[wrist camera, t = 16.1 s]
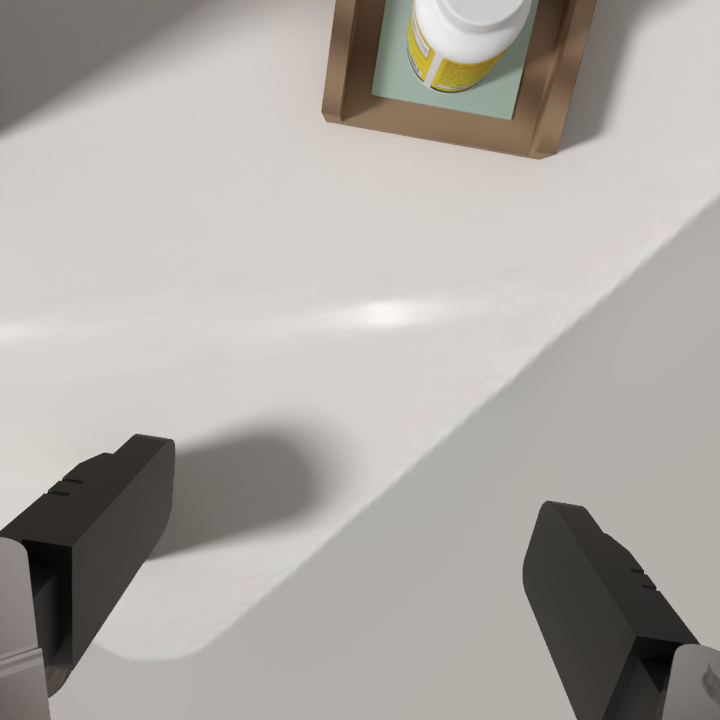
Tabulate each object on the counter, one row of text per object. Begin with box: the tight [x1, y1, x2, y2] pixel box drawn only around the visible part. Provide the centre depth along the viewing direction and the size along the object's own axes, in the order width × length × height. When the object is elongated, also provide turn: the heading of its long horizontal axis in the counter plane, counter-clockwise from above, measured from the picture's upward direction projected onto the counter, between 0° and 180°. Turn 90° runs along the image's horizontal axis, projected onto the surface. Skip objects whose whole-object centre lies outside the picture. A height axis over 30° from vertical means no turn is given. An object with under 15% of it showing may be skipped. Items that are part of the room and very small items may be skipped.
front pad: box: [371, 0, 539, 120], centre depth 33 cm, size 8×10×1 cm
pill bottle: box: [407, 0, 532, 95], centre depth 28 cm, size 6×6×11 cm
